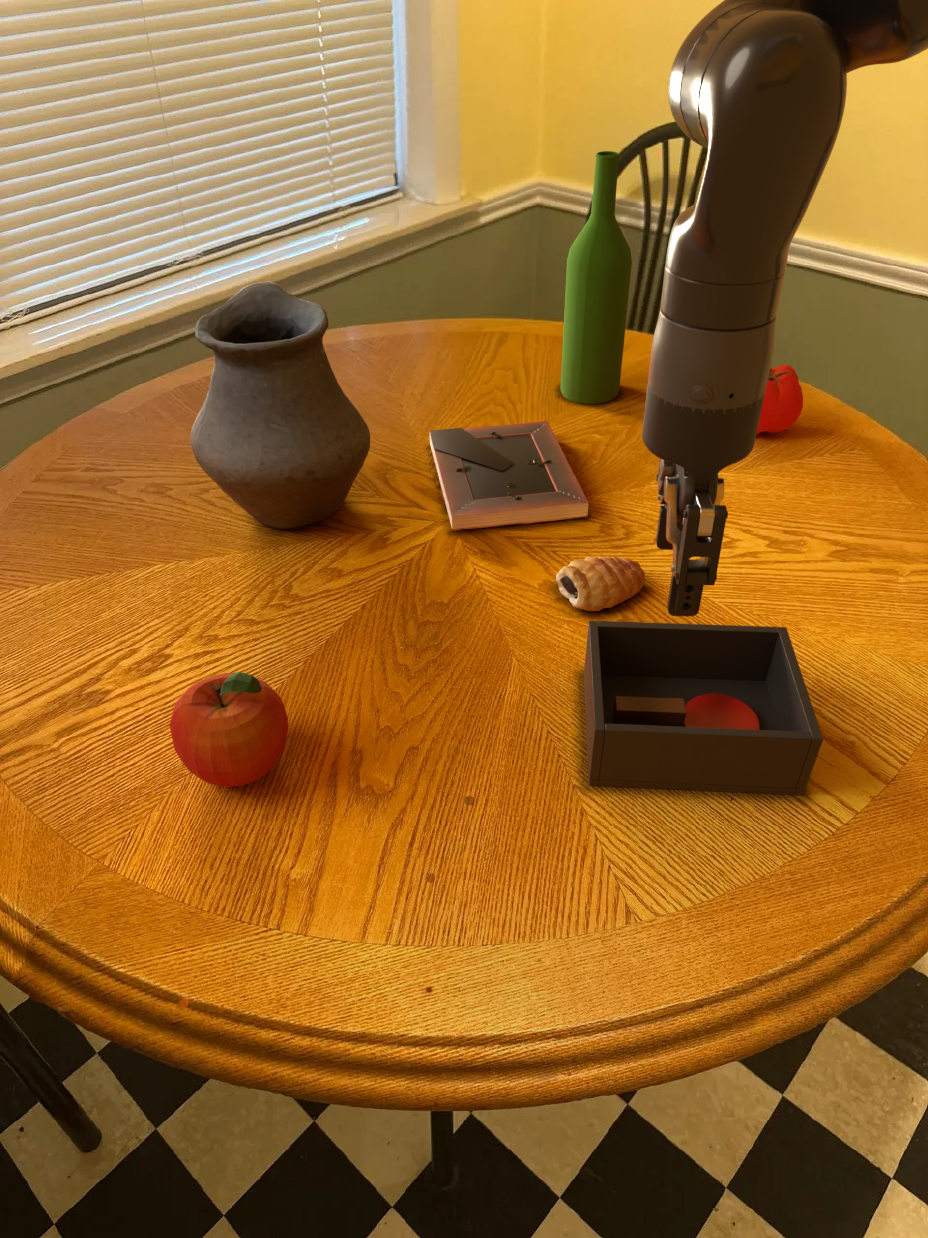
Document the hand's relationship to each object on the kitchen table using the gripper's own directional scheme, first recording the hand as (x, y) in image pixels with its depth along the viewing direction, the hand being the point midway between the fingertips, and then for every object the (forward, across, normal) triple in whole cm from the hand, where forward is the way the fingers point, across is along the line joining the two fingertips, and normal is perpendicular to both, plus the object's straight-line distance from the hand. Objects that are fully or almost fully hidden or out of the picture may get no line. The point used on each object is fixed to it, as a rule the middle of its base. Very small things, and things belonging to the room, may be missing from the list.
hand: (675, 578), depth 66 cm
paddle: (+16, 0, -3) cm, 16 cm away
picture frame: (+17, +43, +15) cm, 48 cm away
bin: (+17, 0, -3) cm, 17 cm away
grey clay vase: (+17, +36, +41) cm, 57 cm away
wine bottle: (+17, +70, +3) cm, 72 cm away
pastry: (+17, +20, +4) cm, 26 cm away
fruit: (+17, -6, +36) cm, 40 cm away
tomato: (+17, +59, -20) cm, 65 cm away
